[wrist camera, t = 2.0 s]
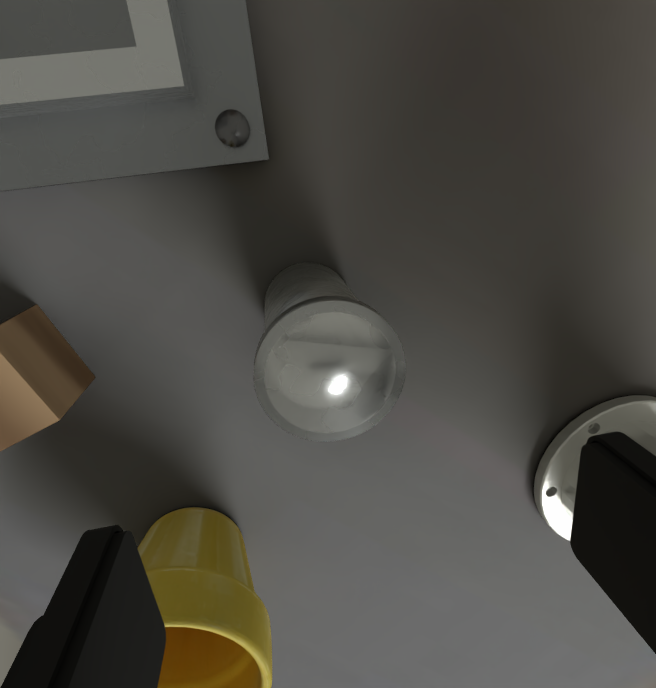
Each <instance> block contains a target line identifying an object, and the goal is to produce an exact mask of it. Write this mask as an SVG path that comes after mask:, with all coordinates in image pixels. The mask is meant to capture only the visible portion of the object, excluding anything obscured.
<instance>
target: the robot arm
mask: <svg viewBox="0 0 656 688" xmlns="http://www.w3.org/2000/svg"><path fill="white" fill-rule="evenodd" d="M534 497H535V503H536V506H537V508H538V511H539V513H540V515H541V516H542V517H543V519H544V520H545V522H546V523H547V524H548V525H549V526H550V527H551V529H552V530H553V531H554V532H555V533H556V534H558V535H559V536H561V537H563V538H564V539H566V540H568V541H570V543H571V547H572V550H573V552H574V554H575V556H576V557H577V559H578V560H579V561H580V563H581V564H582V565H583V566H584V567H585V569H586V570H587V571H588V572H589V574H590V575H591V576H592V577H593V578H594V580H595V581H596V582H597V583H598V584H599V586H600V587H601V588H602V589H603V591H604V592H605V593H606V594H607V595H608V597H609V598H610V599H611V600H612V601H613V603H614V604H615V605H616V606H617V608H618V609H619V610H620V611H621V612H622V614H623V615H624V616H625V617H626V618H627V620H628V621H629V622H630V623H631V625H632V626H633V627H634V628H635V629H636V631H637V632H638V633H639V634H640V635H641V637H642V638H643V639H644V640H645V642H646V643H647V644H648V645H649V646H650V648H651V649H652V650H653V651H654V652H655V654H656V397H652V396H648V395H631V396H626V397H620V398H615V399H612V400H610V401H607V402H604V403H601V404H599V405H597V406H595V407H593V408H591V409H589V410H587V411H585V412H584V413H582V414H581V415H580V416H578V417H577V418H576V419H574V420H573V421H571V422H570V423H569V424H568V425H567V426H566V427H565V428H564V429H563V430H562V431H561V432H560V433H559V434H558V435H557V436H556V437H555V439H554V440H553V441H552V443H551V444H550V445H549V446H548V448H547V450H546V451H545V453H544V455H543V457H542V459H541V461H540V463H539V466H538V469H537V472H536V475H535V482H534ZM165 645H166V630H165V625H164V622H163V619H162V616H161V613H160V611H159V608H158V605H157V602H156V599H155V597H154V594H153V591H152V588H151V585H150V582H149V580H148V577H147V574H146V571H145V568H144V566H143V563H142V560H141V557H140V554H139V551H138V549H137V546H136V543H135V540H134V537H133V535H132V533H131V532H130V531H125V532H123V530H122V528H121V527H120V526H119V525H114V526H109V527H104V528H98V529H93V530H88V531H86V532H85V533H84V534H83V535H82V537H81V539H80V541H79V543H78V545H77V547H76V549H75V551H74V553H73V555H72V557H71V559H70V561H69V564H68V566H67V568H66V570H65V572H64V574H63V576H62V578H61V580H60V582H59V584H58V586H57V588H56V590H55V593H54V595H53V597H52V599H51V601H50V603H49V605H48V607H47V609H46V611H45V613H44V615H43V616H41V617H40V618H38V619H37V620H36V621H35V622H34V624H33V625H32V627H31V628H30V630H29V632H28V634H27V636H26V638H25V640H24V642H23V644H22V646H21V648H20V650H19V652H18V654H17V656H16V658H15V660H14V662H13V664H12V666H11V668H10V670H9V672H8V674H7V676H6V678H5V680H4V682H3V684H2V686H1V688H157V687H158V682H159V676H160V671H161V666H162V661H163V656H164V651H165Z"/></svg>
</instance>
